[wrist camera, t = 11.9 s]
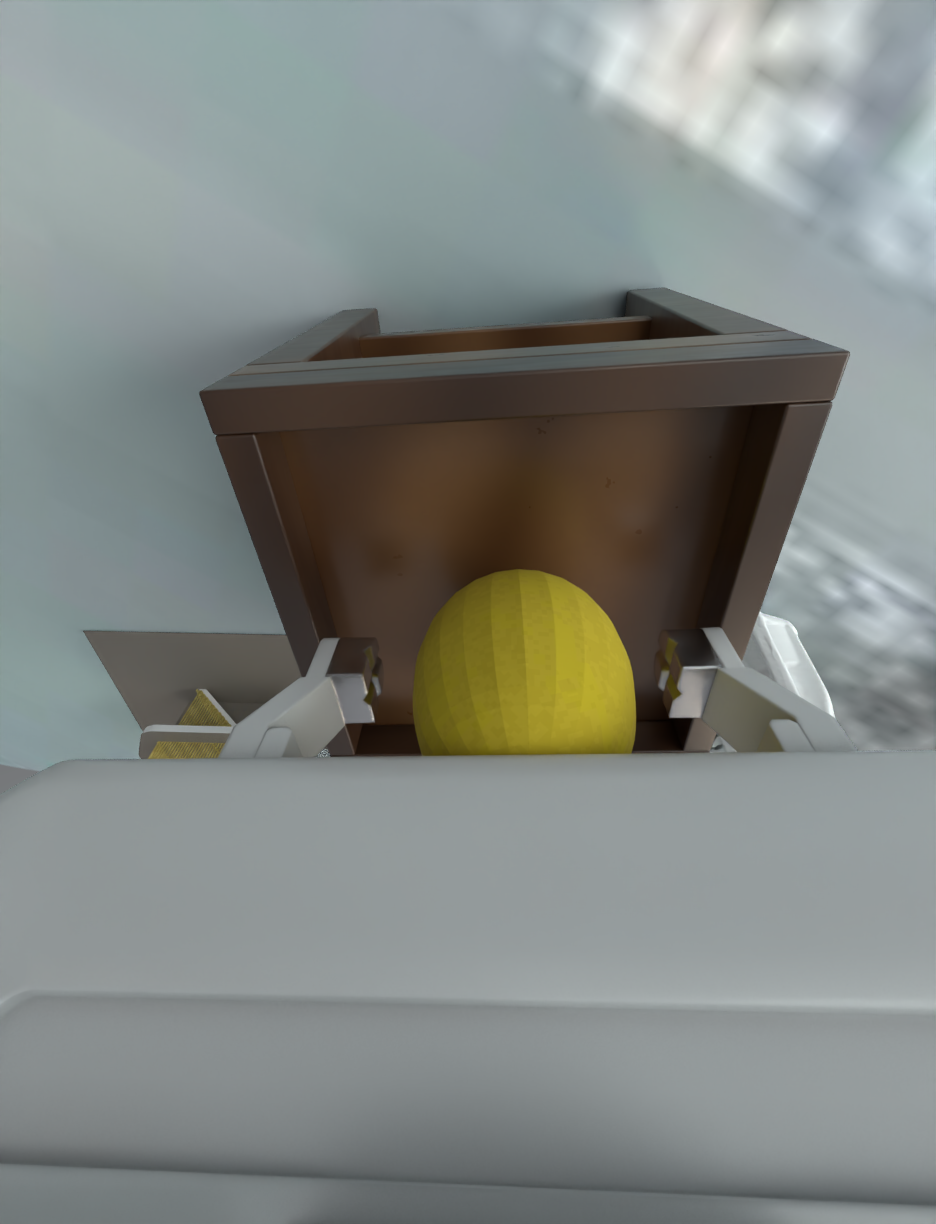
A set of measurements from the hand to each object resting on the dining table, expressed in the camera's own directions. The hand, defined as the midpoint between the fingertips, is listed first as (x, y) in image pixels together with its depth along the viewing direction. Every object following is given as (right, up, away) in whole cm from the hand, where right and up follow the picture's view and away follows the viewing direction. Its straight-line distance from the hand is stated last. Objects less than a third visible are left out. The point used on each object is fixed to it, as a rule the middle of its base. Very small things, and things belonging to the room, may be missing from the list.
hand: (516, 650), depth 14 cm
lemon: (0, +2, +2) cm, 3 cm away
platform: (-18, -5, +24) cm, 30 cm away
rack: (0, +9, +12) cm, 15 cm away
